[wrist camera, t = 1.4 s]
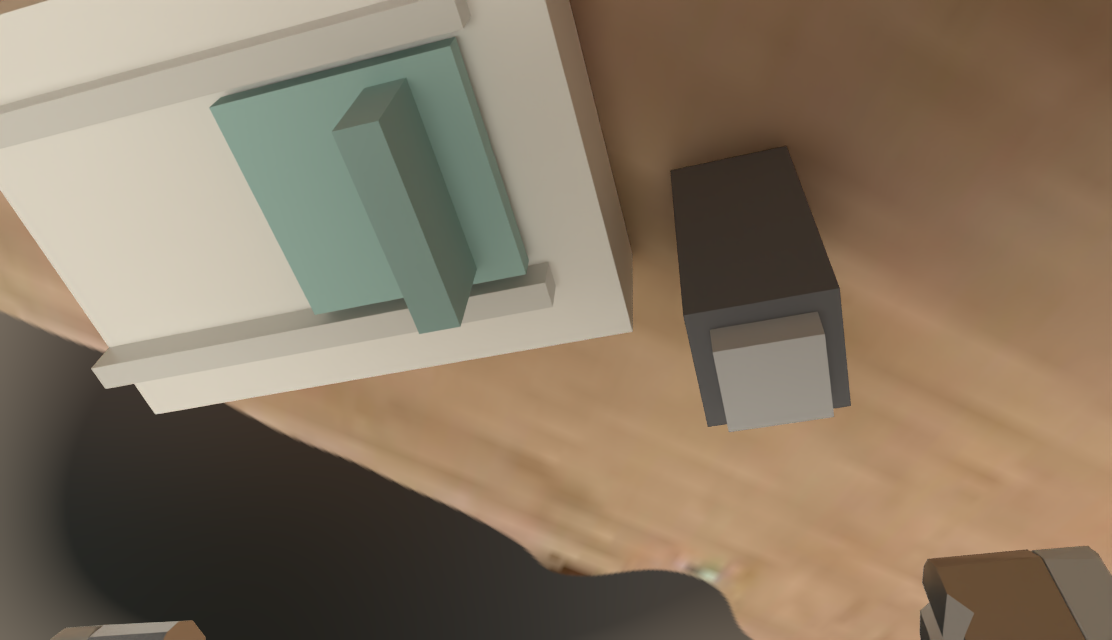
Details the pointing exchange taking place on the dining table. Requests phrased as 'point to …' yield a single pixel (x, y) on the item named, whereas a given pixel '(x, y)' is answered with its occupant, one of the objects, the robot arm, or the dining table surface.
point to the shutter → (379, 182)
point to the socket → (233, 212)
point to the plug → (758, 294)
